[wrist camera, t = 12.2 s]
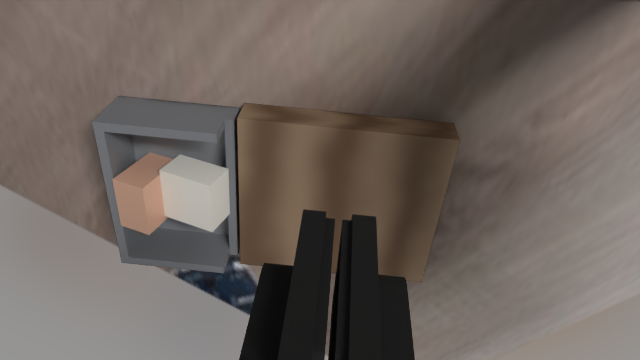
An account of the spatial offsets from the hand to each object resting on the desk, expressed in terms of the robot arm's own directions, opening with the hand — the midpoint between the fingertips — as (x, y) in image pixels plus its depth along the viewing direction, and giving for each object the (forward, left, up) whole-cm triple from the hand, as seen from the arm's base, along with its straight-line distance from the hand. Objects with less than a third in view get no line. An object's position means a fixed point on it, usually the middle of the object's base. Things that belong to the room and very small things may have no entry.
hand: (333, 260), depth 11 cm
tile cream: (+11, +18, -27) cm, 34 cm away
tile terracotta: (+15, +18, -25) cm, 34 cm away
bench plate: (-1, +18, -29) cm, 34 cm away
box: (+14, +18, -29) cm, 37 cm away
